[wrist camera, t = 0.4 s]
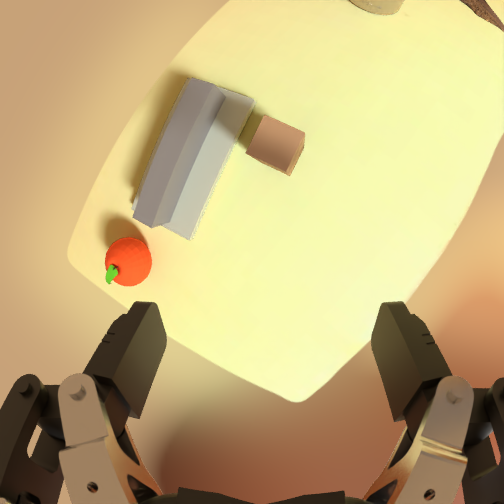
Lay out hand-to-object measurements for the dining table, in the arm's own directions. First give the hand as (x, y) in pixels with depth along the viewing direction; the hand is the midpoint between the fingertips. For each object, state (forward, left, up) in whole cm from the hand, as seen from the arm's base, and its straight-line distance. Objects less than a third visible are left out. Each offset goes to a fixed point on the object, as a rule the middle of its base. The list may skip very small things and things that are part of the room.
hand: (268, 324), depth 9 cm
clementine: (+15, -18, -26) cm, 35 cm away
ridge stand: (-2, -16, -26) cm, 31 cm away
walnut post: (-7, -5, -26) cm, 28 cm away
